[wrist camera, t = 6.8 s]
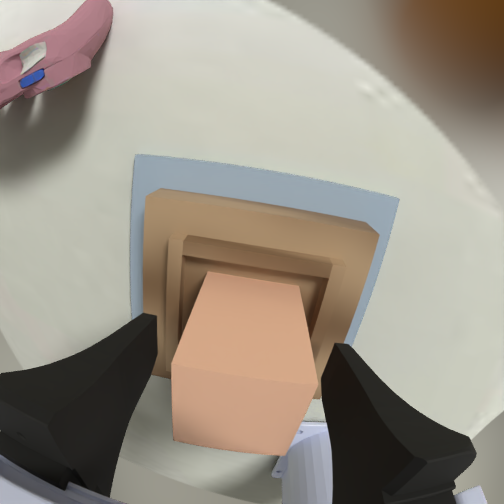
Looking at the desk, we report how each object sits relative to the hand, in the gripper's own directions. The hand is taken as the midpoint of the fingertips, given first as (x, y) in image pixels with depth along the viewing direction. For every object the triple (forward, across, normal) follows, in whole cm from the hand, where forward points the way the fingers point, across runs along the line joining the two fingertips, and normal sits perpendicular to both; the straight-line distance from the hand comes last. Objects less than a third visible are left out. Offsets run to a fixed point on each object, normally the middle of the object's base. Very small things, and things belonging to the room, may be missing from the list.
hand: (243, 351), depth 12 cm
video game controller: (+5, +13, -11) cm, 18 cm away
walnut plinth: (+5, 0, 0) cm, 5 cm away
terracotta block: (+2, 0, 0) cm, 2 cm away
